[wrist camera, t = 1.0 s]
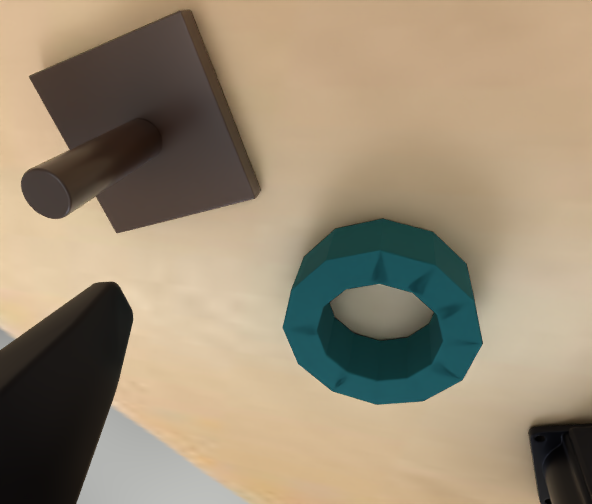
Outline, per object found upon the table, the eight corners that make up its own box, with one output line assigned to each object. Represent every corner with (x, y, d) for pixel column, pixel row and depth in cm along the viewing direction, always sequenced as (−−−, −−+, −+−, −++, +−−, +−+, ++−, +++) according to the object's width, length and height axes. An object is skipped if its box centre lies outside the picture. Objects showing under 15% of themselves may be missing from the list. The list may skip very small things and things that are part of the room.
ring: (484, 352, 23) (493, 396, 21) (326, 368, 26) (317, 409, 24) (454, 202, 20) (461, 234, 17) (275, 240, 23) (258, 272, 20)
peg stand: (261, 190, 21) (200, 276, 15) (126, 225, 24) (26, 310, 18) (190, 8, 18) (73, 20, 12) (43, 72, 21) (-117, 110, 14)
